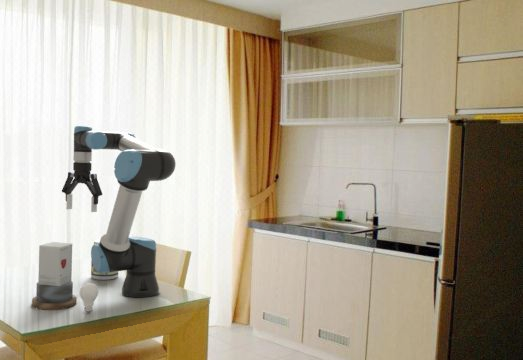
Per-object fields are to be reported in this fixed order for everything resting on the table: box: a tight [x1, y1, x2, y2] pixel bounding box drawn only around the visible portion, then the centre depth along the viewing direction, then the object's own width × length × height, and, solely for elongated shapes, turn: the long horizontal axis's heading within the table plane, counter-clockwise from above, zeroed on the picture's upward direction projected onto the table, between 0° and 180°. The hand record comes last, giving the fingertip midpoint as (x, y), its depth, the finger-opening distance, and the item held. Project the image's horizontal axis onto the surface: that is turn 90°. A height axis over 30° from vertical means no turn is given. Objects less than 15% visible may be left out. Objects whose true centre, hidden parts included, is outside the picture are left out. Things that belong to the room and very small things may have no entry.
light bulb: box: [79, 282, 99, 314], centre depth 209 cm, size 7×7×11 cm
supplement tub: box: [90, 238, 119, 281], centre depth 262 cm, size 12×12×17 cm
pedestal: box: [31, 280, 78, 311], centre depth 218 cm, size 16×16×8 cm
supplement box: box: [37, 241, 73, 287], centre depth 218 cm, size 9×9×15 cm
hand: (81, 210), depth 249 cm, fingers open, 13 cm apart
